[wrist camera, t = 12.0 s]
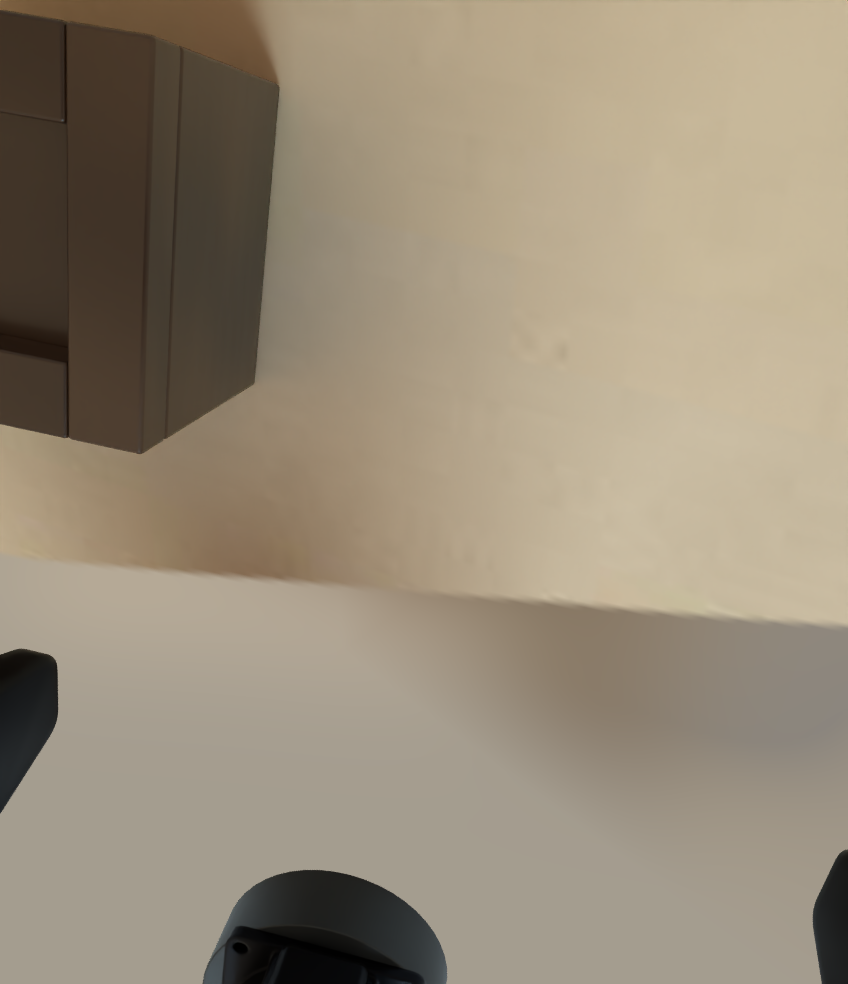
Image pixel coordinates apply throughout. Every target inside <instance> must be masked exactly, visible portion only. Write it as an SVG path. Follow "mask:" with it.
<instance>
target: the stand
mask: <svg viewBox="0 0 848 984" xmlns="http://www.w3.org/2000/svg"><path fill="white" fill-rule="evenodd" d="M278 96H279V85H277V84H276V83H273V82H271V81H268V80H265V79H263V78H260V77H258V76H255V75H253V74H250V73H248V72H245V71H242V70H240V69H237V68H235V67H232V66H230V65H227V64H225V63H222V62H219V61H217V60H214V59H212V58H209V57H207V56H204V55H201V54H199V53H196V52H194V51H191V50H189V49H186V48H184V47H181V46H177V45H176V44H173V43H171V42H168V41H166V40H163V39H160V38H158V37H155V36H153V35H148V34H142V33H136V32H130V31H124V30H118V29H112V28H106V27H100V26H94V25H88V24H82V23H76V22H66V21H63V20H58V19H52V18H46V17H40V16H34V15H28V14H22V13H16V12H10V11H4V10H0V424H2V425H7V426H12V427H16V428H21V429H25V430H30V431H35V432H39V433H44V434H49V435H53V436H58V437H62V438H68V437H69V438H70V439H73V440H77V441H82V442H86V443H91V444H96V445H100V446H105V447H109V448H114V449H119V450H123V451H128V452H133V453H137V454H142V453H144V452H145V451H147V450H149V449H150V448H152V447H153V446H155V445H157V444H158V443H160V442H161V441H163V439H166V438H168V437H170V436H171V435H173V434H174V433H176V432H178V431H179V430H181V429H182V428H184V427H186V426H187V425H189V424H191V423H192V422H194V421H195V420H197V419H199V418H200V417H202V416H203V415H205V414H207V413H208V412H210V411H211V410H213V409H215V408H216V407H218V406H219V405H221V404H223V403H224V402H226V401H227V400H229V399H231V398H232V397H234V396H236V395H237V394H239V393H240V392H242V391H244V390H245V389H247V388H248V387H250V386H252V385H253V384H254V380H255V368H256V356H257V345H258V333H259V321H260V309H261V297H262V285H263V274H264V262H265V250H266V238H267V226H268V214H269V203H270V191H271V179H272V167H273V155H274V143H275V132H276V120H277V108H278Z"/></svg>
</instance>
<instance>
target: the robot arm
mask: <svg viewBox="0 0 848 984" xmlns="http://www.w3.org/2000/svg"><path fill="white" fill-rule="evenodd" d="M57 716H58V673H57V663H56V661H55V659H54V658H53V657H52V656H50V655H48V654H44V653H39V652H36V651H31V650H27V649H16V650H13V651H10V652H7V653H4V654H1V655H0V813H1V812H2V810H3V809H4V807H5V806H6V804H7V802H8V801H9V799H10V797H11V796H12V794H13V793H14V791H15V790H16V788H17V787H18V785H19V784H20V782H21V781H22V779H23V777H24V776H25V774H26V773H27V771H28V769H29V768H30V766H31V765H32V763H33V762H34V760H35V759H36V757H37V756H38V754H39V752H40V751H41V749H42V748H43V746H44V744H45V743H46V741H47V740H48V738H49V737H50V735H51V733H52V731H53V729H54V727H55V724H56V721H57ZM813 929H814V936H815V942H816V949H817V955H818V961H819V968H820V975H821V981H822V984H848V850H844V851H842V852H841V853H840V854H839V855H838V857H837V858H836V860H835V862H834V864H833V866H832V868H831V870H830V872H829V875H828V877H827V879H826V881H825V883H824V885H823V887H822V889H821V892H820V893H819V895H818V897H817V900H816V902H815V906H814V910H813ZM222 984H426V981H425V979H424V977H423V976H421V975H420V974H419V973H416V972H414V971H410V970H407V969H403V968H399V967H395V966H392V965H388V964H384V963H381V962H377V961H373V960H369V959H366V958H362V957H358V956H355V955H351V954H347V953H343V952H340V951H336V950H332V949H328V948H325V947H321V946H317V945H314V944H310V943H306V942H302V941H299V940H295V939H291V938H288V937H284V936H280V935H276V934H273V933H269V932H265V931H262V930H258V929H254V928H250V927H247V926H237V927H234V928H233V929H232V930H231V932H230V935H229V937H228V939H227V942H226V944H225V954H224V964H223V974H222Z"/></svg>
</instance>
